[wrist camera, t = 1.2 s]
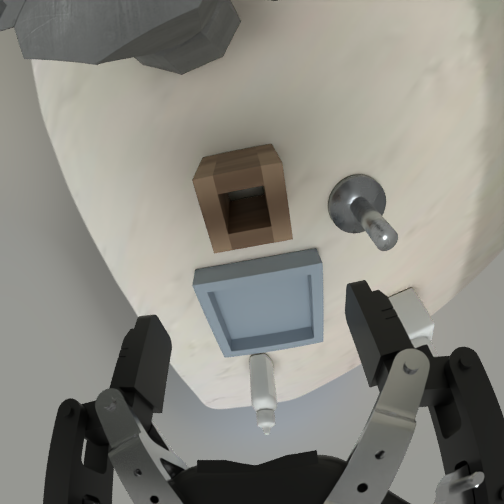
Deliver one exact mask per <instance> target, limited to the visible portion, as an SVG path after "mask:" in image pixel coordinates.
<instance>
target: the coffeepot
mask: <svg viewBox="0 0 504 504" xmlns="http://www.w3.org/2000/svg"><path fill="white" fill-rule="evenodd" d="M273 1H276V0H273ZM240 22H241V20H240V18H239V16H238V14H237V12H236V11H235V9H234V7H233V5H232V3H231V1H230V0H0V31H3V30H6V29H10V28H13V27H14V28H15V31H16V35H17V39H18V41H19V45H20V48H21V51H22V54H23V57H24V59H42V60H57V61H69V62H79V63H87V64H94V65H98V64H101V63H105V62H110V61H115V60H120V59H126V58H132V57H135V58H136V59H137V60H138V61H139V62H140V63H142V64H143V65H146V66H150V67H155V68H159V69H163V70H167V71H171V72H175V73H178V74H184V73H186V72H188V71H191V70H193V69H195V68H198V67H200V66H202V65H204V64H206V63H208V62H211V61H213V60H216V59H218V58H221V57H223V55H224V53H225V51H226V49H227V47H228V45H229V43H230V41H231V40H232V37H233V35H234V33H235V31H236V29H237V27H238V26H239V24H240Z"/></svg>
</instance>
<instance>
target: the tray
mask: <svg viewBox="0 0 504 504" xmlns="http://www.w3.org/2000/svg"><path fill="white" fill-rule="evenodd" d="M192 286H193V288H194V291H195V293H196V295H197V298H198V300H199V302H200V305H201V307H202V309H203V311H204V314H205V316H206V318H207V320H208V323H209V325H210V327H211V329H212V332H213V334H214V336H215V338H216V340H217V342H218V344H219V347H220V349H221V351H222V353H223V355H224V357H234V356H242V355H249V354H256V353H263V352H270V351H276V350H282V349H288V348H293V347H299V346H304V345H309V344H314V343H319V342H323V265H322V261H321V258H320V256H319V254H318V251H317V249H316V248H314V249H309V250H303V251H298V252H292V253H287V254H281V255H276V256H270V257H264V258H259V259H253V260H248V261H242V262H236V263H231V264H225V265H219V266H213V267H208V268H202V269H196V270H195V274H194V279H193V285H192Z"/></svg>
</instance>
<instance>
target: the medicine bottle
mask: <svg viewBox="0 0 504 504" xmlns="http://www.w3.org/2000/svg"><path fill="white" fill-rule="evenodd" d="M389 300H390V302H391V304H392V305H393V309H395V311H396V313H397V315H398V317H399V319H400V320H401V322H402V324H403V326H404V328H405V330H406V332H407V334H408V336H409V338H410V340H411V342H412V344H413V346H414V347H415V349H417V350H419V351H421V352H423V353H424V354H425V355H426V356H430V357H439V355H438V353H437V351H436V349H435V347H434V346H433V344H432V342H431V339H432V335H433V330H434V325H435V324H434V321H433V320H432V318H431V316H430V315H429V313H428V311H427V310H426V308H425V307H424V305H423V303H422V302H421V300H420V299H419V297H418V295H417V294H416V292H415V291H414V289H413V288H410V289H407V290H405V291H403V292H400V293H398V294H396V295H394V296H391V297H389Z"/></svg>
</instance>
